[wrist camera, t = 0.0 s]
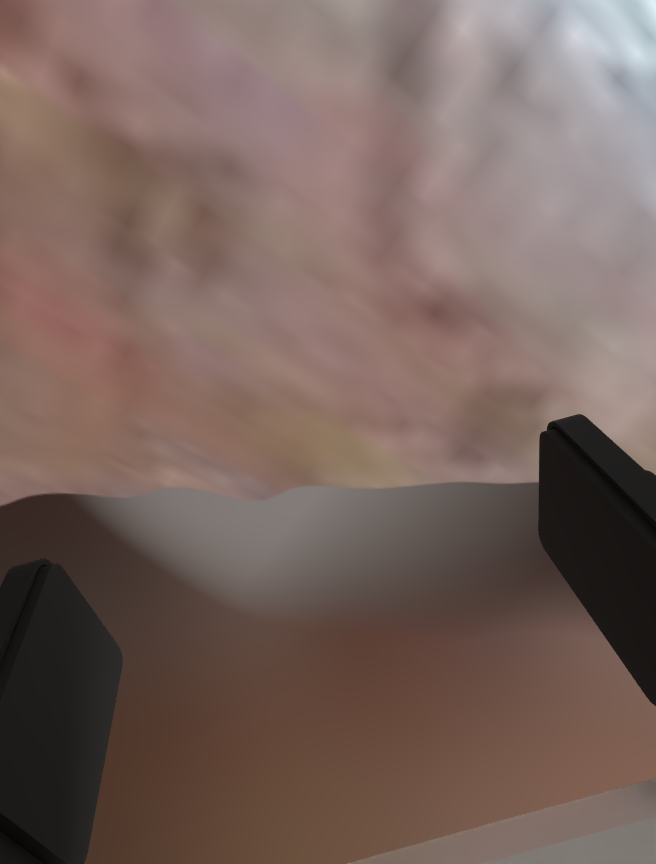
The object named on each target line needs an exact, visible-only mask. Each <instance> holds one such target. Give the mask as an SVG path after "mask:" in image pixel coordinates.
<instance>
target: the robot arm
mask: <svg viewBox="0 0 656 864" xmlns="http://www.w3.org/2000/svg"><path fill="white" fill-rule="evenodd" d="M538 531H539V537H540V541H541V543H542V545H543V548H544V549H545V551H546V552H547V554H548V555H549V557H550V558H551V560H552V561H553V562H554V564H555V565H556V567H557V568H558V570H559V571H560V573H561V574H562V575H563V577H564V578H565V580H566V581H567V583H568V584H569V586H570V587H571V589H572V590H573V591H574V593H575V594H576V596H577V597H578V599H579V600H580V601H581V603H582V604H583V606H584V607H585V609H586V610H587V612H588V613H589V615H590V616H591V617H592V619H593V620H594V622H595V623H596V625H597V626H598V628H599V629H600V630H601V632H602V633H603V635H604V636H605V638H606V639H607V640H608V642H609V643H610V645H611V646H612V648H613V649H614V651H615V652H616V653H617V655H618V656H619V658H620V659H621V661H622V662H623V664H624V665H625V666H626V668H627V669H628V671H629V672H630V674H631V675H632V677H633V678H634V679H635V681H636V682H637V684H638V685H639V687H640V688H641V689H642V691H643V692H644V694H645V695H646V697H647V698H648V699H649V700H650V702H651V703H653V704H654V705H655V706H656V475H654V474H653V473H652V472H650V471H647V470H644V469H643V468H642V467H641V466H640V465H638V464H637V463H636V462H635V461H634V460H633V459H632V458H631V457H630V456H628V455H627V454H626V453H625V452H624V451H623V450H622V449H621V448H620V447H619V446H617V445H616V444H615V443H614V442H613V441H612V440H611V439H610V438H609V437H607V436H606V435H605V434H604V433H603V432H602V431H601V430H600V429H599V428H598V427H596V426H595V425H594V424H593V423H592V422H591V421H590V420H589V419H588V418H586V417H585V416H583V415H580V414H578V415H574V416H570V417H567V418H563V419H559V420H556V421H552V422H550V423H549V424H548V426H547V431H544V432H542V433H541V434H540V446H539V523H538ZM121 670H122V653H121V650H120V647H119V646H118V644H117V643H116V642H115V640H114V639H113V637H112V636H111V634H110V633H109V632H108V630H107V629H106V627H105V626H104V625H103V623H102V622H101V620H100V619H99V618H98V616H97V615H96V613H95V612H94V611H93V609H92V608H91V607H90V605H89V604H88V602H87V601H86V600H85V598H84V597H83V595H82V594H81V593H80V591H79V590H78V589H77V587H76V586H75V584H74V583H73V582H72V580H71V579H70V577H69V576H68V575H67V573H66V572H65V570H64V569H63V568H62V567H61V566H60V565H59V564H52V563H51V562H50V561H49V560H46V559H40V560H36V561H33V562H29V563H25V564H22V565H18V566H14V567H12V568H11V569H9V571H8V572H7V574H6V576H5V578H4V580H3V583H2V584H1V587H0V864H84V862H85V860H86V856H87V853H88V847H89V842H90V837H91V832H92V826H93V821H94V815H95V810H96V805H97V799H98V794H99V788H100V783H101V778H102V772H103V767H104V761H105V756H106V751H107V745H108V740H109V735H110V729H111V724H112V718H113V712H114V708H115V702H116V697H117V691H118V686H119V680H120V675H121ZM348 864H656V779H653V780H649V781H645V782H641V783H637V784H633V785H629V786H625V787H621V788H617V789H613V790H610V791H606V792H603V793H599V794H595V795H592V796H588V797H584V798H581V799H577V800H574V801H570V802H566V803H563V804H559V805H556V806H552V807H549V808H545V809H541V810H538V811H534V812H530V813H527V814H523V815H520V816H516V817H512V818H508V819H505V820H501V821H498V822H494V823H490V824H487V825H483V826H480V827H476V828H472V829H469V830H465V831H461V832H458V833H454V834H451V835H448V836H444V837H440V838H436V839H433V840H430V841H426V842H422V843H419V844H415V845H412V846H408V847H404V848H401V849H398V850H394V851H390V852H387V853H383V854H379V855H376V856H373V857H369V858H365V859H362V860H358V861H355V862H351V863H348Z"/></svg>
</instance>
